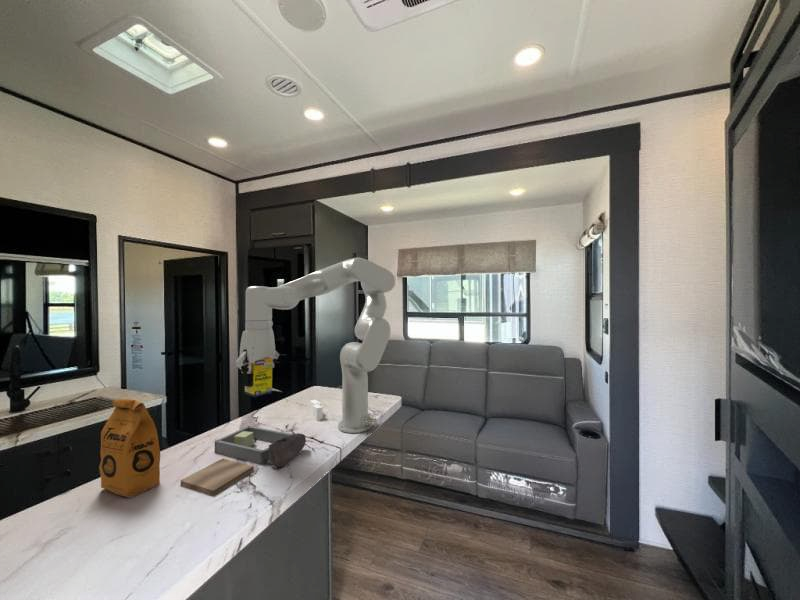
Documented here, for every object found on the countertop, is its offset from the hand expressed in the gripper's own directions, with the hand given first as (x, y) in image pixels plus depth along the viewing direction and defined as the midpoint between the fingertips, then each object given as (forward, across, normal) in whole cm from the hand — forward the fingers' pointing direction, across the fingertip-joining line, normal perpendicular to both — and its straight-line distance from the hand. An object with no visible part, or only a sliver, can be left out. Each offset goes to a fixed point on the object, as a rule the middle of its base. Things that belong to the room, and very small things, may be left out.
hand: (258, 382), depth 96 cm
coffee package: (+22, +25, -16) cm, 37 cm away
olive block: (+22, -2, -8) cm, 24 cm away
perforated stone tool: (+22, -1, +11) cm, 25 cm away
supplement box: (+4, 0, 0) cm, 4 cm away
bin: (+22, -2, -3) cm, 22 cm away
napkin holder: (+22, -33, -4) cm, 40 cm away
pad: (+22, +14, +1) cm, 26 cm away
